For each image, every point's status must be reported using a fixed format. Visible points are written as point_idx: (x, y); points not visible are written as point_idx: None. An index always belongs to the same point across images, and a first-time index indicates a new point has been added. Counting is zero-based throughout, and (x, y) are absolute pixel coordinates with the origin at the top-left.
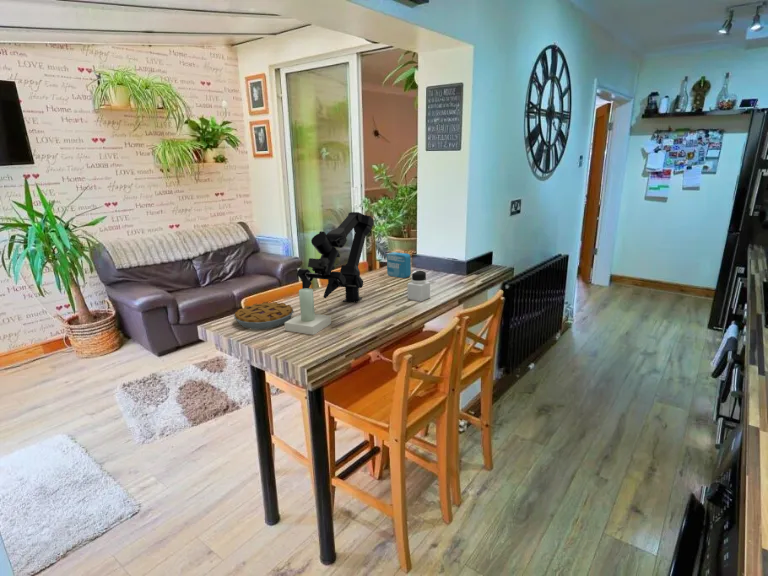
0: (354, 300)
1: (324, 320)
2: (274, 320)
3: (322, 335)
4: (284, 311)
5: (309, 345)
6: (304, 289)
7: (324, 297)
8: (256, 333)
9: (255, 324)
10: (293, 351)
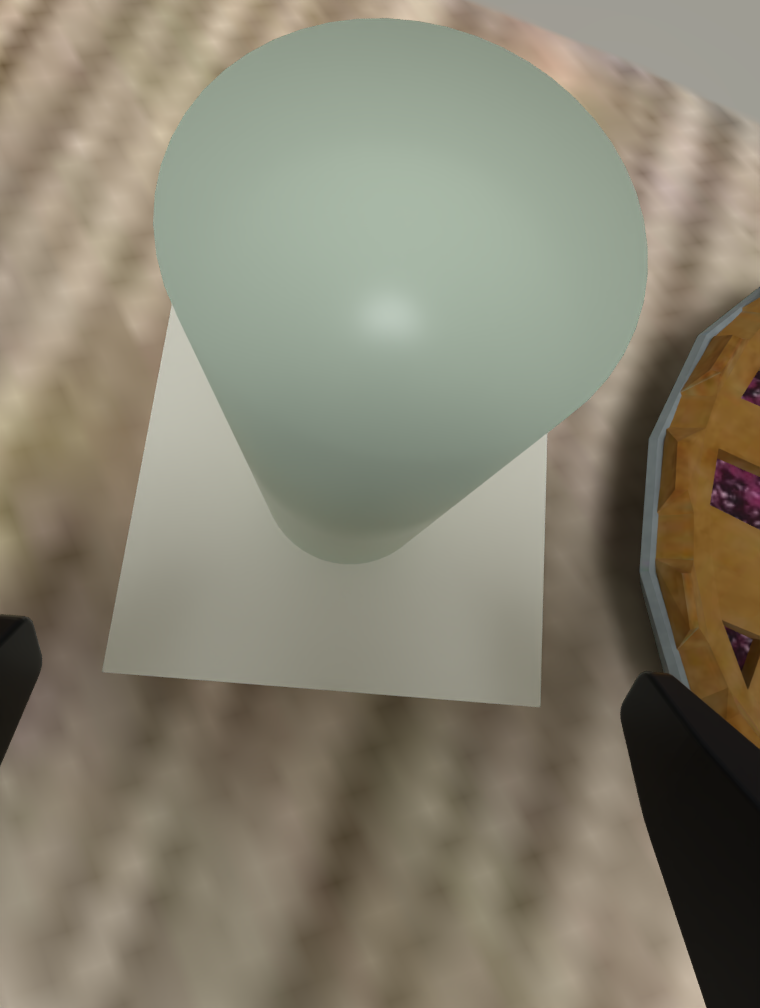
0: None
1: (136, 514)
2: (690, 364)
3: (103, 329)
4: (746, 578)
5: (132, 117)
6: (503, 281)
7: (8, 623)
8: (706, 260)
9: None
10: (211, 9)
